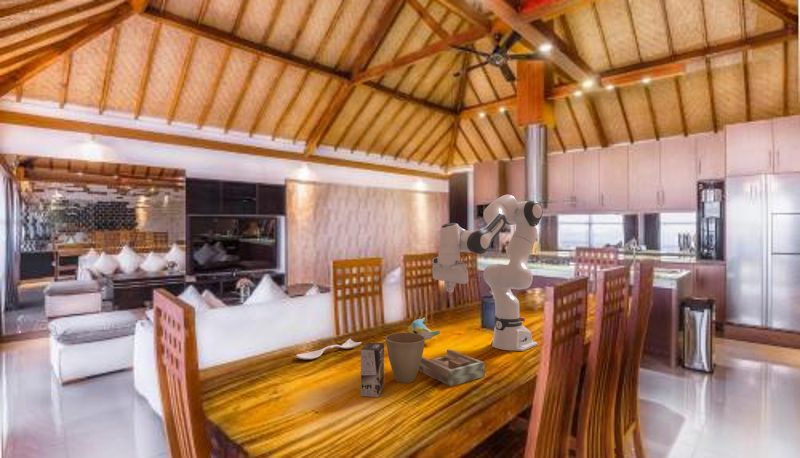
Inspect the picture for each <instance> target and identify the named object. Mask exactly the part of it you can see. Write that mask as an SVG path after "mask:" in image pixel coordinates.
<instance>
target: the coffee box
mask: <svg viewBox="0 0 800 458" xmlns="http://www.w3.org/2000/svg"><path fill="white" fill-rule="evenodd" d="M384 389H385V343H383V342H367V343H365V345H364V346H363V347H361V349H360V396H361V397H371V398H378V397H379V396H380V395H381V394H382V392H383V390H384Z"/></svg>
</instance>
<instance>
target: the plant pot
mask: <svg viewBox="0 0 800 458" xmlns="http://www.w3.org/2000/svg"><path fill="white" fill-rule="evenodd" d="M385 342H386V349H387V350H386V351H387V357H388V361H389V363H390V368H391V371H392V374H393V376H394V379H395V381H396V382H397V383H401V384H409V383H413V382H414V381H415V380H416V378H417V375H418V372H419V371H418V369H419V366H420V363H421V359H422V357H423V353H424V348H425V342H426V340H425V337H424V336H423V335H420V334H416V333H408V332H395V333H394V332H393V333H391V334H387V335H386V336H385Z"/></svg>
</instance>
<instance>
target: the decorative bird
mask: <svg viewBox="0 0 800 458" xmlns="http://www.w3.org/2000/svg"><path fill="white" fill-rule="evenodd" d="M425 320H426V317H423V318H417V319H415V320H413V321H412V322H411V325H408V326H407V325H406V324H404V329H405V330H406V333H416V334H420V335H423V336H424V337H425V341H428V340H431V339H432V338H434V337H436V336H437V335H440V334H441V331H440V330H431V329H430V328H428V327H427V326H426V325H425V324H424V322H425ZM407 329H408V330H407Z"/></svg>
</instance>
